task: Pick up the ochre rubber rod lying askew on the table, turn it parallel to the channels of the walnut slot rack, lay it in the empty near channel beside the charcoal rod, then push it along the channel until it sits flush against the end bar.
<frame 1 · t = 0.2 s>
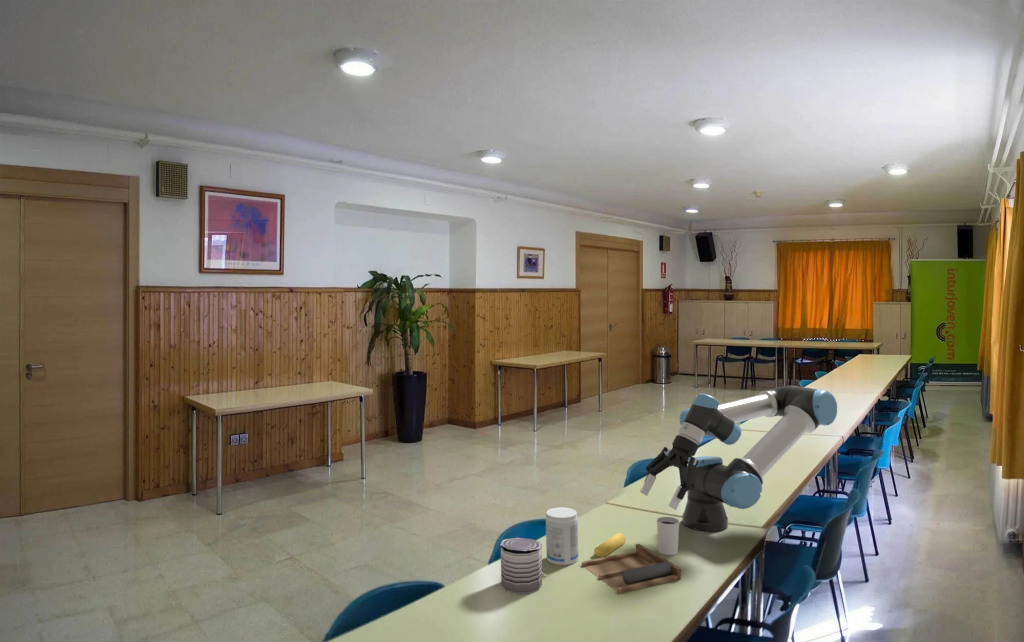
hand: (657, 500, 200), 16 cm above the table, tool tilted 35°, fingers open, 13 cm apart
ochre rod: (610, 551, 202), on the table, tilted 5°
walnut slot rack: (630, 573, 185), on the table
supplement tub: (562, 561, 195), on the table
white cup: (668, 553, 200), on the table
can: (521, 585, 179), on the table
charcoal rod: (647, 579, 180), resting on walnut slot rack
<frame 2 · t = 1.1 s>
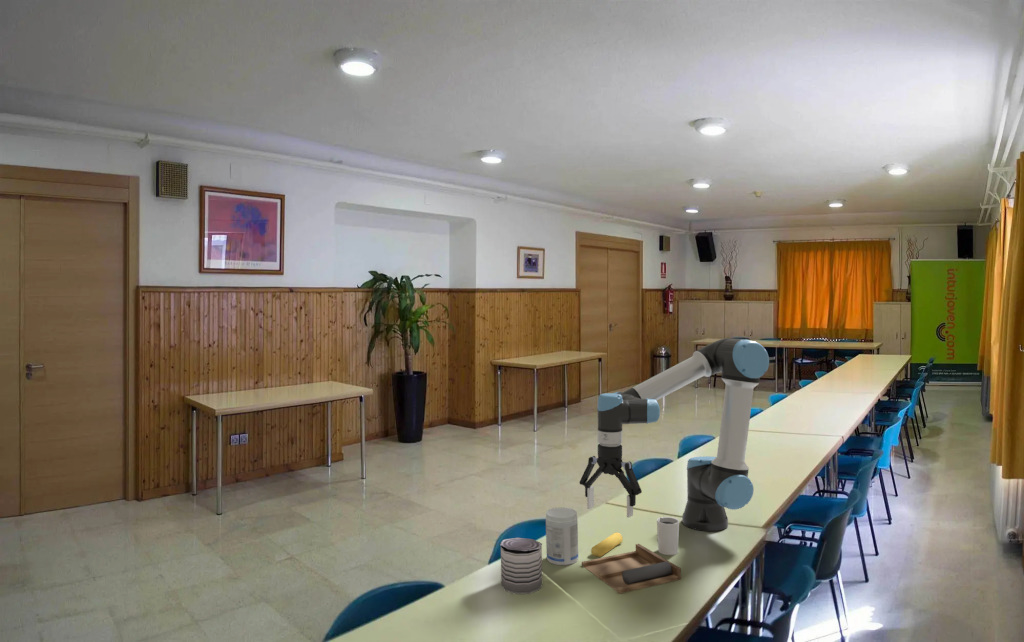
hand: (609, 512, 201), 12 cm above the table, tool pointing down, fingers open, 13 cm apart
ochre rod: (610, 550, 202), on the table, tilted 39°
everything else where it was.
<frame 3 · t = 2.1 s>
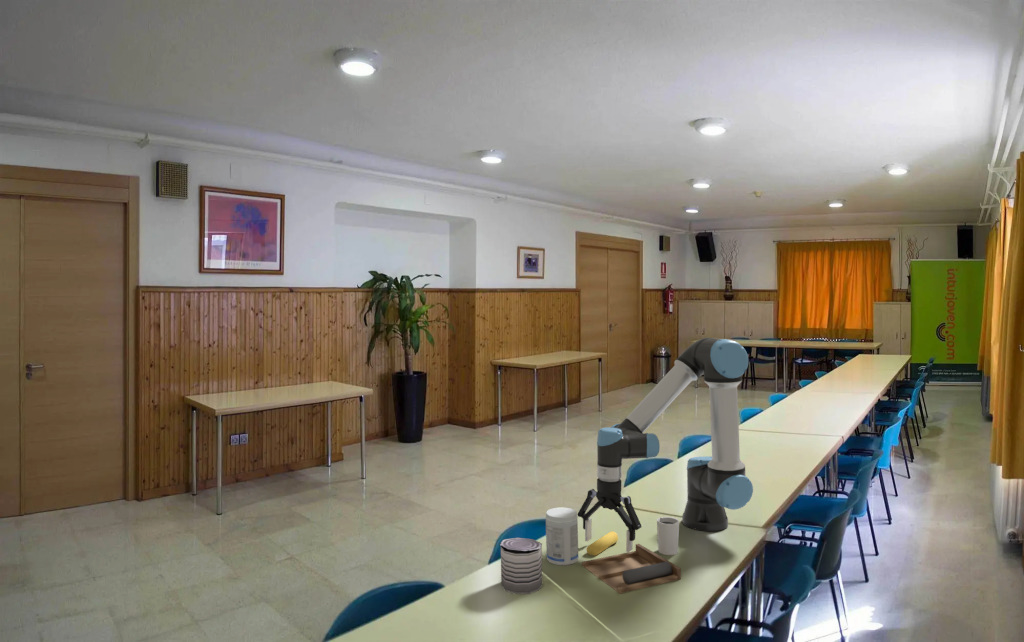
hand: (608, 546, 202), 1 cm above the table, tool pointing down, fingers open, 13 cm apart
ochre rod: (607, 544, 202), point 2 cm above the table, tilted 94°
everything else where it was.
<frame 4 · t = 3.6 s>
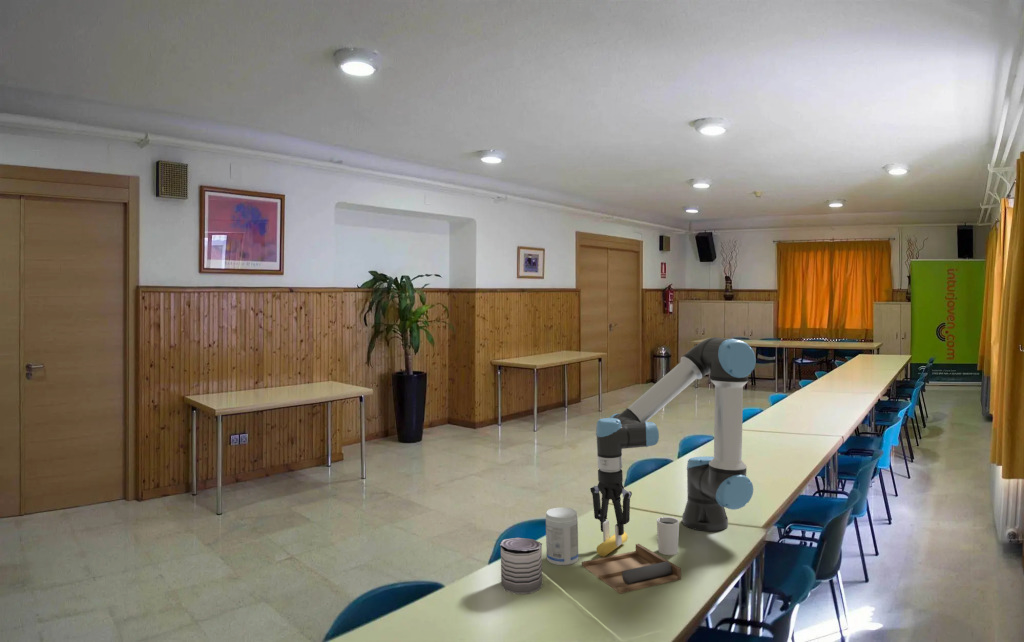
hand: (612, 543, 202), 2 cm above the table, tool pointing down, fingers closed on ochre rod, 3 cm apart
ochre rod: (616, 547, 201), point 1 cm above the table, tilted 52°, touching gripper
everything else where it was.
when the fingers open (2 cm above the table, at t = 7.2 s): ochre rod stays where it is, resting on walnut slot rack.
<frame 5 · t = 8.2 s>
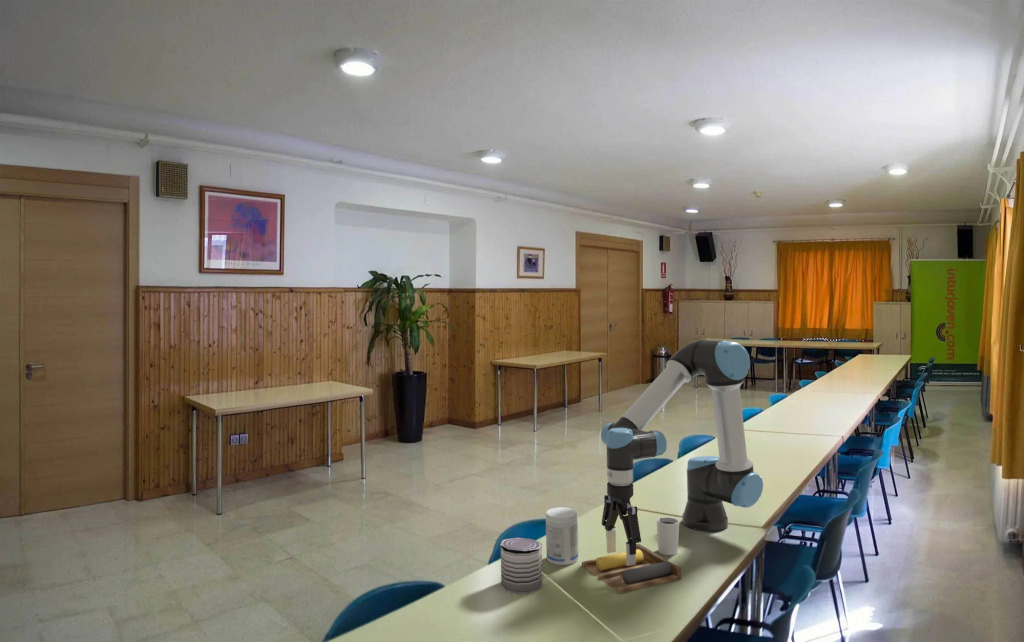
hand: (620, 558, 189), 3 cm above the table, tool pointing down, fingers open, 10 cm apart
ochre rod: (622, 565, 188), point 1 cm above the table, tilted 51°, touching walnut slot rack
everything else where it was.
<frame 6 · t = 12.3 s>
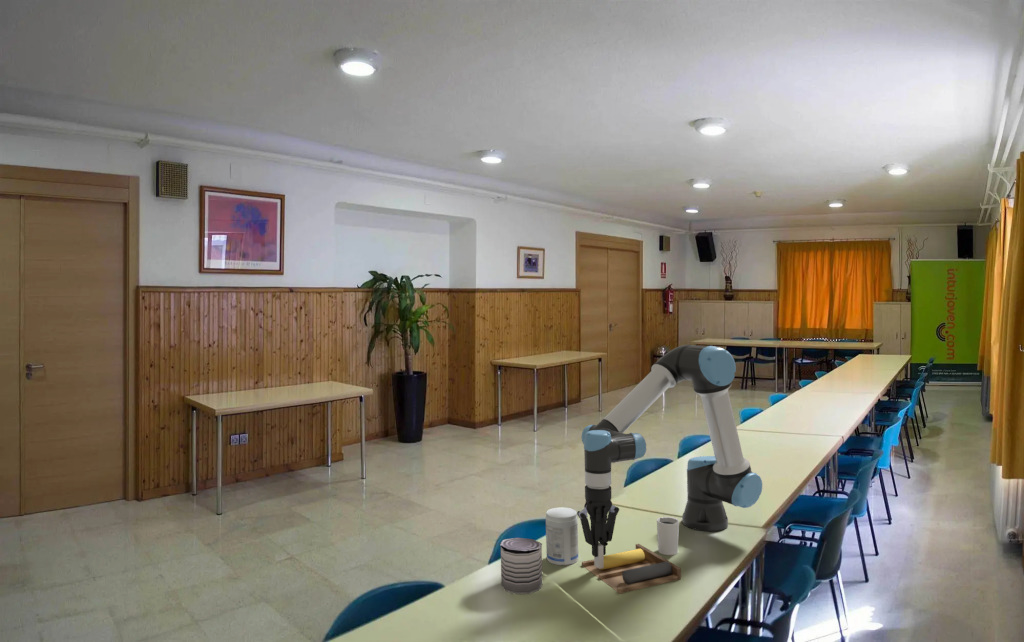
hand: (598, 566, 186), 2 cm above the table, tool pointing down, fingers closed
ochre rod: (624, 564, 188), point 1 cm above the table, tilted 61°
everything else where it was.
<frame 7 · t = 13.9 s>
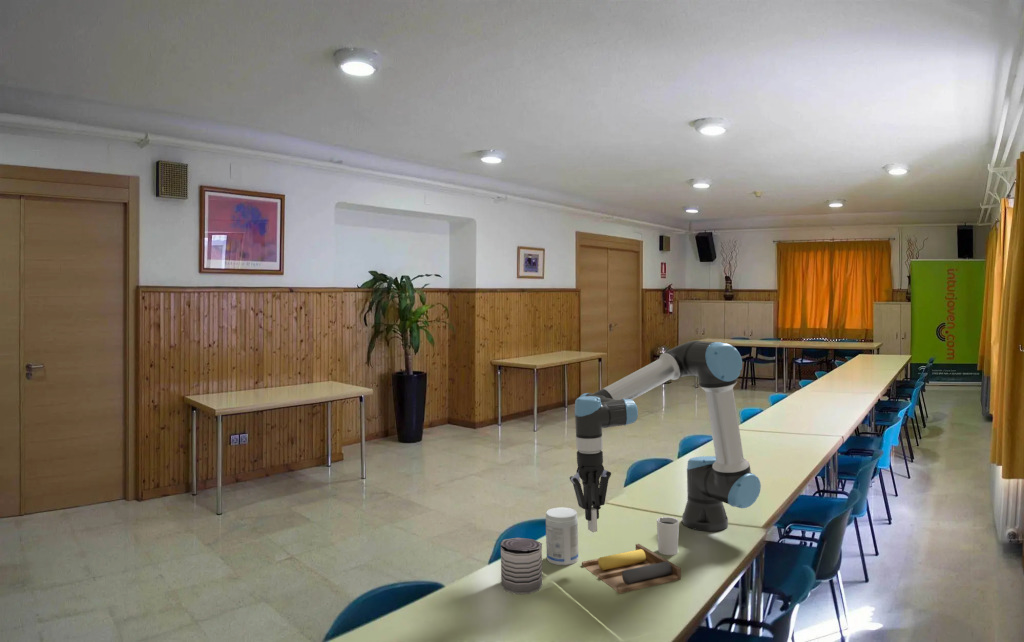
hand: (592, 530, 189), 11 cm above the table, tool pointing down, fingers closed
ochre rod: (624, 565, 188), point 1 cm above the table, tilted 47°, touching walnut slot rack
everything else where it was.
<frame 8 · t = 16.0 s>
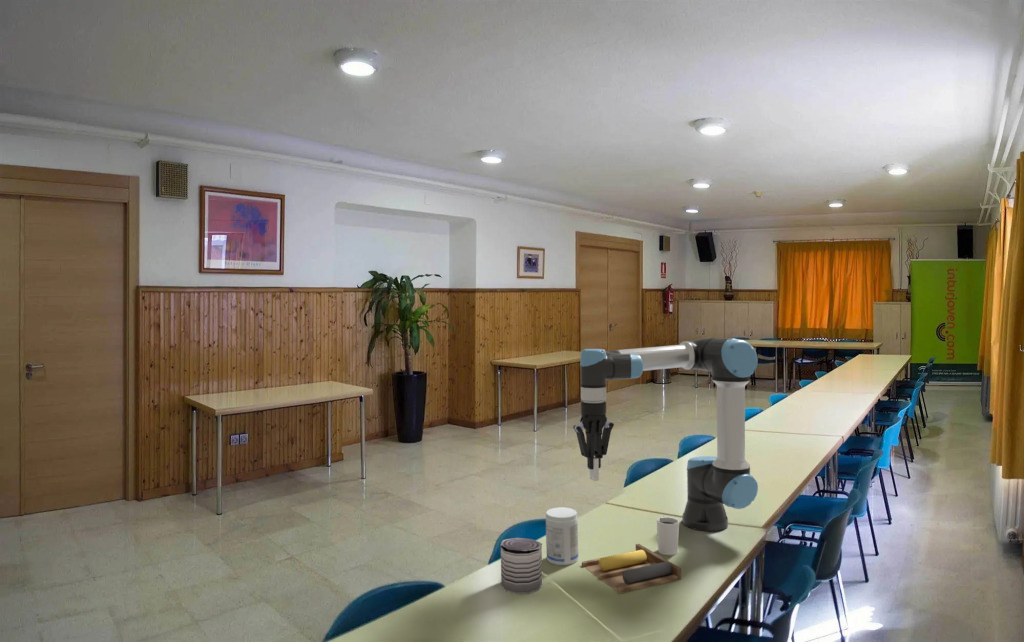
hand: (594, 479, 194), 24 cm above the table, tool pointing down, fingers closed
ochre rod: (624, 566, 188), point 1 cm above the table, tilted 33°, touching walnut slot rack
everything else where it was.
at the end: ochre rod 1.8 cm from the target spot on the walnut slot rack, point 0.7 cm above the walnut slot rack's base; charcoal rod moved 0.1 cm from its start; the gripper is holding nothing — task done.
